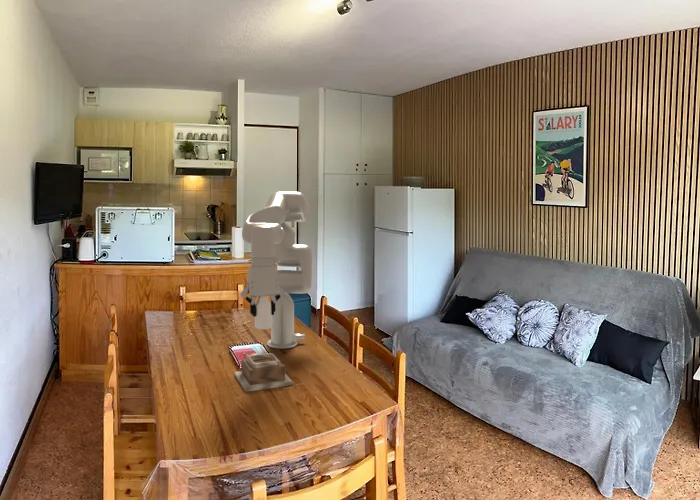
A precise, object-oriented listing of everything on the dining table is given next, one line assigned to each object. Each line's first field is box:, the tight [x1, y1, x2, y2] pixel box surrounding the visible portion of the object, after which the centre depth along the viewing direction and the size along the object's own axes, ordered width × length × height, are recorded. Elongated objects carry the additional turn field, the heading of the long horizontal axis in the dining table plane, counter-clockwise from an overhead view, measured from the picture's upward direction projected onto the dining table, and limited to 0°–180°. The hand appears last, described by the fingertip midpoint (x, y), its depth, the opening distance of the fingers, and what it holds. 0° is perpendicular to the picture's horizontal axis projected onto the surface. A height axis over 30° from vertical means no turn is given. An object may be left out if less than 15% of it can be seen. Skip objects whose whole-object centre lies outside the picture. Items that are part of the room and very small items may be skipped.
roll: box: [253, 296, 272, 330], centre depth 179 cm, size 6×12×6 cm
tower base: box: [234, 352, 293, 393], centre depth 182 cm, size 16×16×8 cm
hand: (262, 314), depth 180 cm, fingers closed on roll, 5 cm apart
